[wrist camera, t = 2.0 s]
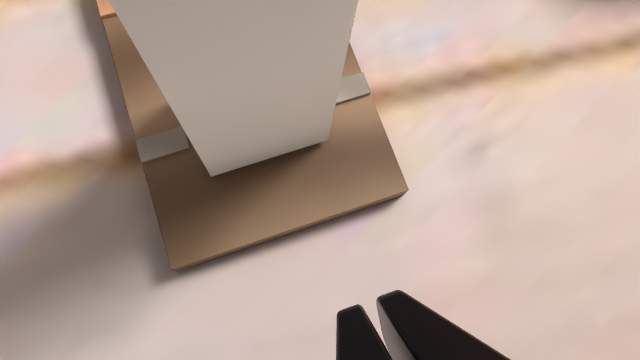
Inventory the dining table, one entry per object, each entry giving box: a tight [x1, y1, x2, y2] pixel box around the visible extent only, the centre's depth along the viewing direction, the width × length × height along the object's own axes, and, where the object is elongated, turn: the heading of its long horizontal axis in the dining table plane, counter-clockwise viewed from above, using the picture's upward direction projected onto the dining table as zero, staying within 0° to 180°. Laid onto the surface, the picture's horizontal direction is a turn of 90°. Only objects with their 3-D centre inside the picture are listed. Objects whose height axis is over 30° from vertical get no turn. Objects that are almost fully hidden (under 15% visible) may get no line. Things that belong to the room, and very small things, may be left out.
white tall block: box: [109, 0, 358, 177], centre depth 15 cm, size 4×5×12 cm
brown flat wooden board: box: [96, 0, 409, 271], centre depth 22 cm, size 17×10×1 cm, turn 19°
